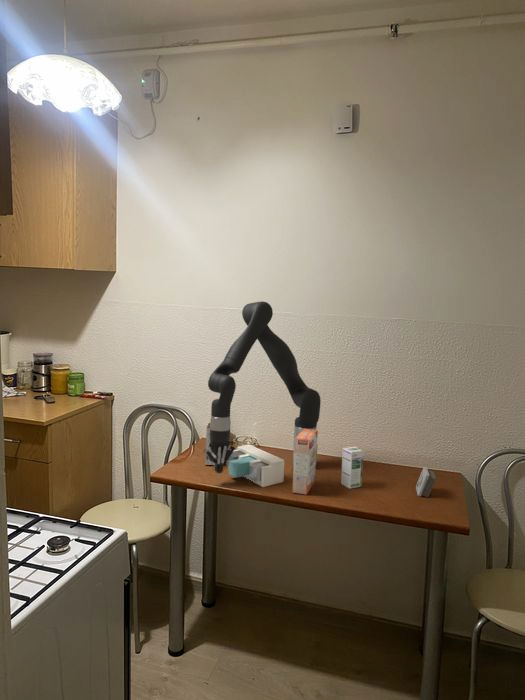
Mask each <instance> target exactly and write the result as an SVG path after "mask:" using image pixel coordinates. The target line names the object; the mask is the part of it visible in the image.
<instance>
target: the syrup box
mask: <svg viewBox="0 0 525 700" xmlns="http://www.w3.org/2000/svg"><path fill="white" fill-rule="evenodd" d="M341 455H342V456H341V457H342V458H341V477H340V478H341V480H340V484H341V485H342V486H344V487H345V488H348V489H356V488H361V487H362V486H363V485H362V484H363V472H364V471H363V469H364V450H363V449H362V448H360V447H357V446H350V447H343V448H342V454H341Z"/></svg>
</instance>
